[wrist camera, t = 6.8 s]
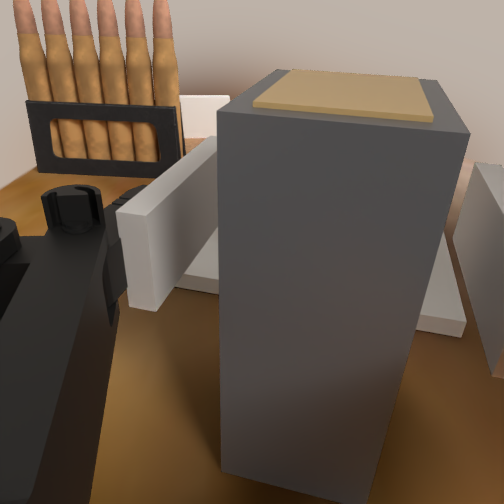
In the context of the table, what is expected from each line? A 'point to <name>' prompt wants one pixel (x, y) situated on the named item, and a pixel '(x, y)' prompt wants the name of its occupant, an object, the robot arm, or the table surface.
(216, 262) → the dock tray
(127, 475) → the table surface
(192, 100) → the eraser
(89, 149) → the ammunition clip
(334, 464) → the grey upright block
